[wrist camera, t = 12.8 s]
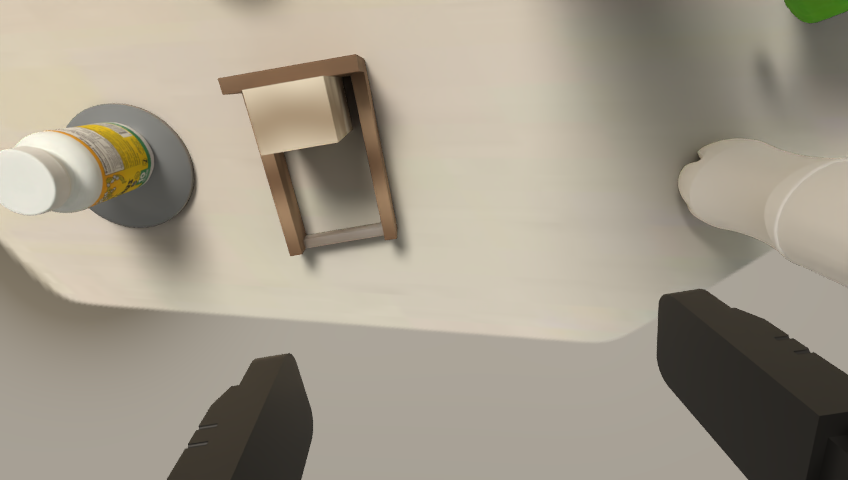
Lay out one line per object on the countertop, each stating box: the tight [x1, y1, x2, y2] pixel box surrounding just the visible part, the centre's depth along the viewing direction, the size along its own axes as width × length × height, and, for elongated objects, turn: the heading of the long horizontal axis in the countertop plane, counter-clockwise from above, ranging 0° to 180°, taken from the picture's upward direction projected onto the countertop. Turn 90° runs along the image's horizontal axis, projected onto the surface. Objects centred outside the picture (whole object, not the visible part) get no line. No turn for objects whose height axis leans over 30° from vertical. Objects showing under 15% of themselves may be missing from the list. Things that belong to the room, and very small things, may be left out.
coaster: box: [66, 103, 194, 228], centre depth 35 cm, size 10×10×1 cm
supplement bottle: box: [0, 122, 154, 215], centre depth 30 cm, size 5×5×10 cm
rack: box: [218, 54, 397, 256], centre depth 32 cm, size 14×9×8 cm, turn 9°
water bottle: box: [678, 138, 848, 287], centre depth 26 cm, size 7×7×25 cm
